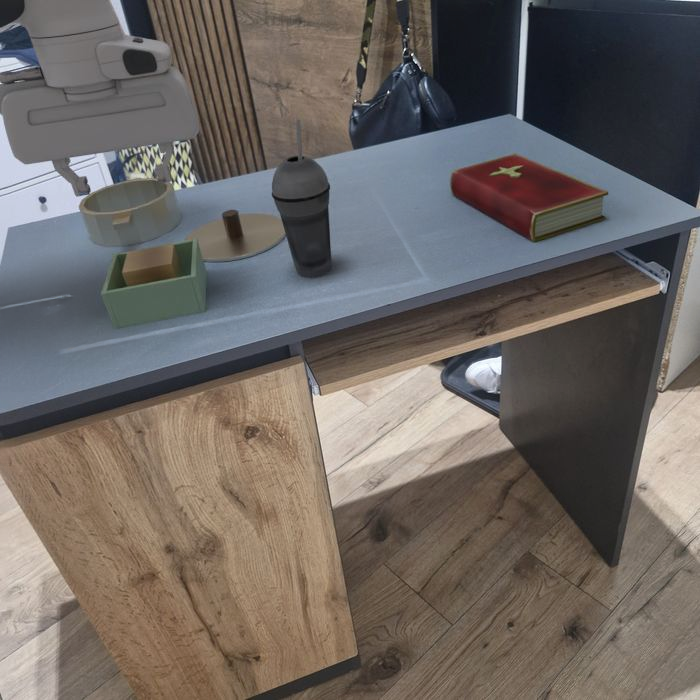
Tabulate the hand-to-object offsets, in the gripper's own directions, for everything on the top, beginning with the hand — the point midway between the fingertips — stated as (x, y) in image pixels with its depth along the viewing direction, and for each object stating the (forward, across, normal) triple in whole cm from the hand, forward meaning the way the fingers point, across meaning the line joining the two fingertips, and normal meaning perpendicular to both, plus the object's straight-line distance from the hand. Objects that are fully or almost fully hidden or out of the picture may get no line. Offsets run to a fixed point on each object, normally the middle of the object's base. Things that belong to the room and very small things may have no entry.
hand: (124, 187), depth 75 cm
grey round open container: (+16, -6, +27) cm, 32 cm away
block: (+15, 0, 0) cm, 15 cm away
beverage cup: (+15, +20, 0) cm, 26 cm away
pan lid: (+15, +10, +15) cm, 23 cm away
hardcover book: (+15, +53, +8) cm, 56 cm away
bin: (+16, 0, 0) cm, 16 cm away
